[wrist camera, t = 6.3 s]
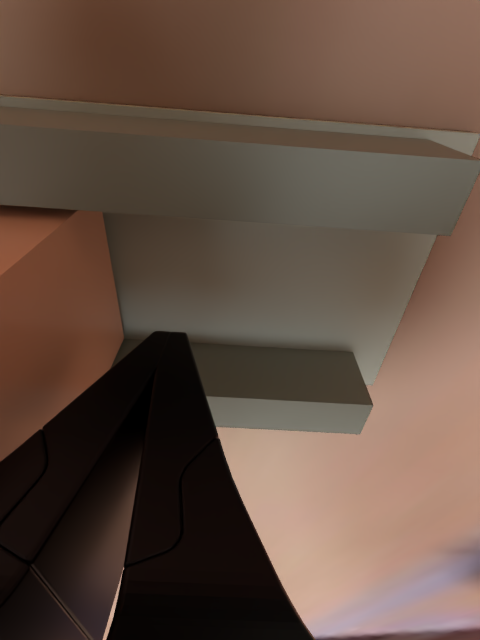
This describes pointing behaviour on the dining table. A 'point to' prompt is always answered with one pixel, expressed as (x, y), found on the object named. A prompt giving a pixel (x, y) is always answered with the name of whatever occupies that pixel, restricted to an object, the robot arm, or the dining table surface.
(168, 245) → the chute
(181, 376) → the robot arm
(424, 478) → the dining table surface
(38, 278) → the brick
